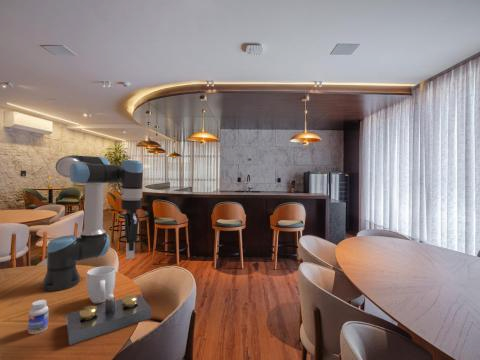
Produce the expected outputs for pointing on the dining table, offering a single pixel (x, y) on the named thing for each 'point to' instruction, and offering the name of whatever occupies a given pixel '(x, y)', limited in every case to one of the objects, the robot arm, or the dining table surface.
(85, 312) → the near knob
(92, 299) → the mug
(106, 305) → the pot post
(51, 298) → the dining table surface
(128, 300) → the far knob
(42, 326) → the pill bottle
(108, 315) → the mount plate
